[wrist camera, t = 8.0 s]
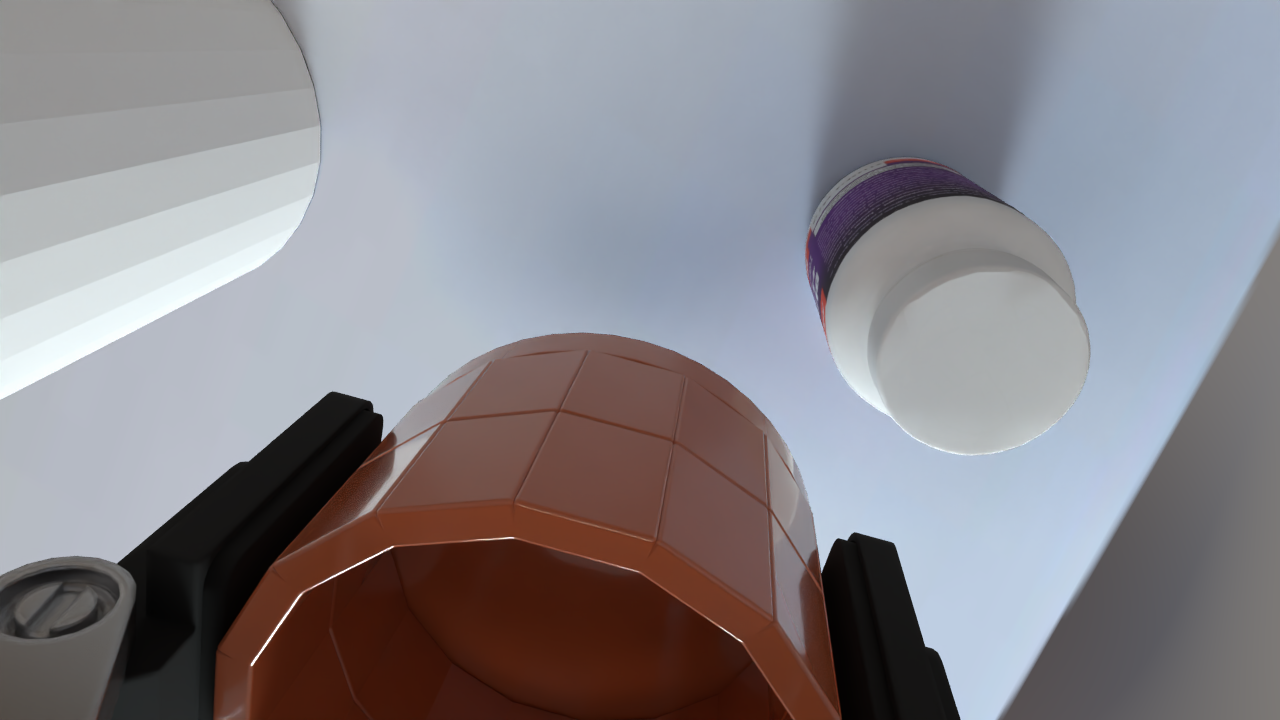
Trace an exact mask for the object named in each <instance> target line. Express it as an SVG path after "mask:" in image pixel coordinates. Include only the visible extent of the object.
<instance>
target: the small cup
mask: <svg viewBox="0 0 1280 720" xmlns="http://www.w3.org/2000/svg"><path fill="white" fill-rule="evenodd" d="M213 720H842V713H841V706H840V699H839V693H838V686H837V679H836V672H835V665H834V658H833V651H832V644H831V637H830V630H829V623H828V616H827V609H826V603H825V596H824V589H823V582H822V575H821V568H820V561H819V554H818V547H817V540H816V533H815V526H814V519H813V513H812V512H811V507H810V506H809V501H808V495H807V492H806V489H805V486H804V483H803V480H802V477H801V474H800V471H799V468H798V466H797V464H796V462H795V461H794V459H793V457H792V455H791V453H790V451H789V449H788V447H787V445H786V443H785V442H784V440H783V439H782V438H781V436H780V435H779V433H778V432H777V430H776V429H775V428H774V426H773V425H772V423H771V422H770V421H769V420H768V419H767V417H766V416H765V415H764V414H763V413H762V412H761V411H760V410H759V409H758V408H757V407H756V406H755V404H754V403H753V402H752V401H751V400H750V399H749V398H747V397H746V396H745V395H744V394H743V393H741V392H740V391H739V390H738V389H737V388H735V387H734V386H733V385H732V384H731V383H729V382H728V381H727V380H725V379H724V378H722V377H721V376H719V375H717V374H716V373H714V372H713V371H711V370H710V369H708V368H707V367H705V366H703V365H702V364H700V363H698V362H696V361H694V360H691V359H689V358H687V357H685V356H683V355H681V354H679V353H677V352H675V351H672V350H669V349H666V348H663V347H660V346H657V345H654V344H651V343H648V342H645V341H641V340H636V339H631V338H626V337H621V336H616V335H607V334H594V333H566V334H551V335H545V336H540V337H534V338H529V339H523V340H520V341H517V342H514V343H511V344H508V345H505V346H502V347H499V348H496V349H494V350H492V351H490V352H487V353H485V354H483V355H481V356H479V357H477V358H475V359H473V360H471V361H470V362H468V363H467V364H465V365H464V366H462V367H461V368H459V369H458V370H456V371H455V372H453V373H452V374H450V375H449V376H448V377H447V378H446V379H444V380H443V381H442V382H441V383H440V384H439V385H438V386H437V387H436V388H435V389H434V390H432V391H431V392H430V393H429V394H428V396H427V397H426V398H424V399H422V400H420V401H419V402H418V403H417V404H416V405H414V406H413V407H412V408H411V409H410V411H409V412H408V413H407V414H406V415H405V416H404V417H403V418H402V420H401V421H400V422H399V423H398V424H397V425H396V426H395V427H394V428H393V430H392V431H391V432H390V433H389V434H388V435H387V436H386V437H385V438H384V440H383V441H382V442H381V443H380V444H379V445H378V446H377V447H376V448H375V450H374V451H373V452H372V453H371V454H370V455H369V456H368V457H367V458H366V460H365V461H364V462H363V463H362V464H361V465H360V466H359V467H358V468H357V470H356V471H355V473H353V474H352V475H351V476H350V477H349V479H348V480H347V481H346V482H345V483H344V484H343V485H342V486H341V487H340V489H339V490H338V491H337V492H336V493H335V494H334V495H333V496H332V497H331V499H330V500H329V501H328V502H327V503H326V504H325V505H324V506H323V507H322V509H321V510H320V511H319V512H318V513H317V514H316V515H315V516H314V517H313V519H312V520H311V521H310V522H309V523H308V524H307V525H306V526H305V527H304V529H303V530H302V531H301V532H300V533H299V534H298V535H297V536H296V538H295V539H294V540H293V541H292V542H291V543H290V544H289V545H288V546H287V548H286V549H285V550H284V551H283V552H282V553H281V554H280V555H279V556H278V558H277V559H276V560H275V561H274V562H273V563H272V564H271V565H270V566H269V568H268V569H267V571H266V572H265V574H264V575H263V577H262V578H261V580H260V581H259V583H258V584H257V586H256V588H255V589H254V591H253V592H252V594H251V595H250V597H249V598H248V600H247V601H246V603H245V604H244V606H243V607H242V609H241V610H240V612H239V613H238V615H237V616H236V618H235V619H234V621H233V622H232V624H231V625H230V627H229V628H228V630H227V631H226V633H225V635H224V636H223V638H222V639H221V641H220V642H219V644H218V648H217V650H216V655H215V677H214V699H213Z"/></svg>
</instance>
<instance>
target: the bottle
mask: <svg viewBox="0 0 1280 720" xmlns="http://www.w3.org/2000/svg"><path fill="white" fill-rule="evenodd" d="M320 134H321V125H320V119H319V113H318V108H317V102H316V96H315V90H314V86H313V83H312V81H311V78H310V75H309V72H308V69H307V66H306V64H305V61H304V58H303V55H302V52H301V50H300V48H299V46H298V44H297V42H296V41H295V39H294V37H293V35H292V33H291V31H290V30H289V28H288V26H287V24H286V22H285V21H284V19H283V17H282V15H281V13H280V12H279V11H278V10H277V8H276V7H275V6H274V4H273V3H272V2H271V1H270V0H0V400H1V399H3V398H5V397H7V396H9V395H11V394H12V393H14V392H16V391H18V390H20V389H22V388H24V387H26V386H28V385H30V384H32V383H34V382H36V381H38V380H40V379H42V378H44V377H45V376H47V375H49V374H51V373H53V372H55V371H57V370H59V369H61V368H63V367H65V366H67V365H69V364H71V363H73V362H75V361H77V360H78V359H80V358H82V357H84V356H86V355H88V354H90V353H92V352H94V351H96V350H98V349H100V348H102V347H104V346H106V345H108V344H110V343H111V342H113V341H115V340H117V339H119V338H121V337H123V336H125V335H127V334H129V333H131V332H133V331H135V330H137V329H139V328H141V327H143V326H145V325H146V324H148V323H150V322H152V321H154V320H156V319H158V318H160V317H162V316H164V315H166V314H168V313H170V312H172V311H174V310H176V309H178V308H179V307H181V306H183V305H185V304H187V303H189V302H191V301H193V300H195V299H197V298H199V297H201V296H203V295H205V294H207V293H209V292H211V291H212V290H214V289H216V288H218V287H220V286H222V285H224V284H226V283H228V282H230V281H232V280H234V279H236V278H238V277H240V276H242V275H244V274H245V273H247V272H249V271H251V270H253V269H255V268H257V267H259V266H261V265H262V264H263V263H264V262H265V261H267V260H268V259H269V258H270V257H272V256H273V255H274V254H275V253H276V252H278V251H279V250H280V249H281V248H282V247H283V246H284V245H285V243H286V242H287V241H288V240H289V238H290V237H291V236H292V234H293V233H294V232H295V230H296V229H297V228H298V226H299V225H300V224H301V221H302V219H303V217H304V215H305V212H306V210H307V208H308V206H309V203H310V201H311V199H312V197H313V194H314V189H315V184H316V180H317V175H318V170H319V165H320Z"/></svg>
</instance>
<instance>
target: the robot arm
mask: <svg viewBox="0 0 1280 720" xmlns="http://www.w3.org/2000/svg"><path fill="white" fill-rule="evenodd" d="M382 430H383V416H382V415H381V414H377V413H374V412H373V404H372V403H371V401H367V400H364V399H360V398H356V397H353V396H349V395H345V394H341V393H338V392H330V393H329V394H327V395H326V396H325V397H324V398H322V399H321V400H320V401H319V402H318V403H317V404H315V405H314V406H313V407H312V408H311V409H310V410H308V411H307V412H306V413H305V414H304V415H303V416H301V417H300V418H299V419H298V420H297V421H296V422H294V423H293V424H292V425H291V426H290V427H289V428H287V429H286V430H285V431H284V432H283V433H282V434H280V435H279V436H278V437H277V438H276V439H275V440H273V441H272V442H271V443H270V444H269V445H268V446H266V447H265V448H264V449H263V450H262V451H261V452H259V453H258V454H257V455H256V456H255V457H254V458H252V459H251V460H250V461H249V462H240V463H238V464H236V465H235V466H233V467H232V468H230V469H229V470H228V471H227V472H226V473H224V474H223V475H222V476H221V477H220V478H218V479H217V480H216V481H215V482H214V483H212V484H211V485H210V486H209V487H208V488H207V489H205V490H204V491H203V492H202V493H201V494H199V495H198V496H197V497H196V498H195V499H193V500H192V501H191V502H190V503H189V504H187V505H186V506H185V507H184V508H183V509H181V510H180V511H179V512H178V513H177V514H176V515H174V516H173V517H172V518H171V519H170V520H168V521H167V522H166V523H165V524H164V525H162V526H161V527H160V528H159V529H158V530H156V531H155V532H154V533H153V534H152V535H150V536H149V537H148V538H147V539H146V540H145V541H143V542H142V543H141V544H140V545H139V546H137V547H136V548H135V549H134V550H133V551H131V552H130V553H129V554H128V555H127V556H125V557H124V558H123V559H122V560H121V561H119V562H118V563H117V564H116V563H113V562H110V561H107V560H103V559H100V558H93V557H82V556H71V557H59V558H50V559H46V560H42V561H38V562H34V563H30V564H26V565H24V566H21V567H19V568H17V569H14V570H12V571H10V572H7V573H5V574H3V575H1V576H0V720H213V699H214V677H215V655H216V650H217V648H218V644H219V642H220V641H221V639H222V638H223V636H224V635H225V633H226V631H227V630H228V628H229V627H230V625H231V624H232V622H233V621H234V619H235V618H236V616H237V615H238V613H239V612H240V610H241V609H242V607H243V606H244V604H245V603H246V601H247V600H248V598H249V597H250V595H251V594H252V592H253V591H254V589H255V588H256V586H257V584H258V583H259V581H260V580H261V578H262V577H263V575H264V574H265V572H266V571H267V569H268V568H269V566H270V565H271V564H272V563H273V562H274V561H275V560H276V559H277V558H278V556H279V555H280V554H281V553H282V552H283V551H284V550H285V549H286V548H287V546H288V545H289V544H290V543H291V542H292V541H293V540H294V539H295V538H296V536H297V535H298V534H299V533H300V532H301V531H302V530H303V529H304V527H305V526H306V525H307V524H308V523H309V522H310V521H311V520H312V519H313V517H314V516H315V515H316V514H317V513H318V512H319V511H320V510H321V509H322V507H323V506H324V505H325V504H326V503H327V502H328V501H329V500H330V499H331V497H332V496H333V495H334V494H335V493H336V492H337V491H338V490H339V489H340V487H341V486H342V485H343V484H344V483H345V482H346V481H347V480H348V479H349V477H350V476H351V475H352V474H353V473H355V471H356V470H357V468H358V467H359V466H360V465H361V464H362V463H363V462H364V461H365V460H366V458H367V457H368V456H369V455H370V454H371V453H372V452H373V451H374V450H375V448H376V447H377V446H378V445H379V444H380V443H381V438H382ZM821 575H822V582H823V589H824V596H825V603H826V609H827V616H828V623H829V630H830V637H831V644H832V651H833V658H834V665H835V672H836V679H837V686H838V693H839V699H840V706H841V713H842V720H960V717H959V713H958V710H957V707H956V704H955V701H954V698H953V694H952V691H951V688H950V685H949V682H948V679H947V676H946V672H945V669H944V666H943V663H942V660H941V658H940V656H939V654H938V652H936V651H935V650H934V649H932V648H928V647H925V644H924V641H923V638H922V634H921V631H920V627H919V624H918V621H917V617H916V614H915V611H914V607H913V604H912V601H911V597H910V594H909V590H908V587H907V584H906V580H905V577H904V574H903V570H902V567H901V563H900V560H899V557H898V553H897V550H896V547H895V545H894V543H892V542H888V541H885V540H881V539H877V538H874V537H870V536H866V535H863V534H859V533H855V532H854V533H853V534H851V536H850V537H849V538H848V541H846V540H843V539H839V538H838V539H836V541H835V542H834V544H833V546H832V548H831V551H830V553H829V556H828V558H827V561H826V563H825V566H824V568H823V571H822V573H821Z"/></svg>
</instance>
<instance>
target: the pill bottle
mask: <svg viewBox="0 0 1280 720" xmlns="http://www.w3.org/2000/svg"><path fill="white" fill-rule="evenodd" d="M805 263H806V270H807V276H808V280H809V283H810V287H811V290H812V293H813V296H814V300H815V303H816V306H817V309H818V312H819V315H820V319H821V322H822V325H823V328H824V332H825V335H826V339H827V342H828V346H829V349H830V352H831V354H832V357H833V359H834V361H835V364H836V366H837V368H838V369H839V371H840V373H841V375H842V376H843V378H844V379H845V380H846V382H847V383H848V385H849V386H850V387H851V388H852V389H853V390H854V391H855V392H856V393H857V394H858V395H859V396H860V397H861V398H862V399H864V400H865V401H866V402H867V403H869V404H870V405H872V406H873V407H875V408H876V409H878V410H879V411H881V412H883V413H885V414H886V415H888V416H891V417H892V418H893V420H894V421H895V422H896V423H897V424H898V425H899V426H900V427H901V428H902V429H903V430H904V431H905V432H906V433H908V434H909V435H910V436H912V437H913V438H914V439H916V440H918V441H919V442H921V443H923V444H925V445H927V446H929V447H932V448H935V449H938V450H941V451H944V452H948V453H953V454H960V455H985V454H993V453H998V452H1001V451H1006V450H1010V449H1013V448H1016V447H1018V446H1021V445H1023V444H1025V443H1027V442H1029V441H1031V440H1033V439H1035V438H1037V437H1038V436H1040V435H1041V434H1043V433H1044V432H1046V431H1047V430H1049V429H1050V428H1051V427H1052V426H1053V425H1054V424H1055V423H1057V422H1058V421H1059V420H1060V419H1061V418H1062V417H1063V416H1064V415H1065V414H1066V412H1067V411H1068V410H1069V409H1070V407H1071V406H1072V405H1073V404H1074V402H1075V401H1076V399H1077V397H1078V395H1079V394H1080V392H1081V389H1082V387H1083V385H1084V383H1085V379H1086V376H1087V373H1088V369H1089V362H1090V340H1089V333H1088V328H1087V326H1086V323H1085V320H1084V318H1083V316H1082V314H1081V312H1080V310H1079V308H1078V306H1077V305H1076V296H1075V287H1074V282H1073V278H1072V275H1071V272H1070V269H1069V266H1068V264H1067V262H1066V260H1065V258H1064V256H1063V254H1062V252H1061V251H1060V249H1059V248H1058V246H1057V245H1056V244H1055V242H1054V241H1053V240H1052V239H1051V238H1050V236H1049V235H1048V234H1047V233H1046V232H1045V231H1044V230H1043V229H1041V228H1040V227H1039V226H1038V225H1037V224H1036V223H1034V222H1033V221H1031V220H1030V219H1029V218H1027V217H1026V216H1025V215H1024V214H1022V213H1021V212H1019V211H1018V210H1016V209H1015V208H1014V207H1012V206H1010V205H1008V204H1007V203H1005V202H1004V201H1002V200H1000V199H999V198H997V197H996V196H994V195H992V194H991V193H989V192H987V191H986V190H984V189H983V188H981V187H979V186H978V185H976V184H975V183H973V182H972V181H970V180H969V179H967V178H966V177H964V176H963V175H961V174H960V173H958V172H956V171H954V170H953V169H951V168H949V167H947V166H944V165H942V164H939V163H936V162H933V161H930V160H926V159H921V158H913V157H898V158H889V159H884V160H879V161H876V162H873V163H870V164H867V165H865V166H863V167H861V168H859V169H857V170H855V171H853V172H852V173H850V174H849V175H847V176H846V177H844V178H843V179H842V180H841V181H839V182H838V183H837V184H836V185H835V186H834V187H833V188H832V189H831V190H830V191H829V192H828V193H827V195H826V196H825V197H824V199H823V200H822V201H821V203H820V204H819V206H818V208H817V209H816V211H815V213H814V215H813V217H812V220H811V223H810V226H809V229H808V233H807V238H806V245H805Z"/></svg>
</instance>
